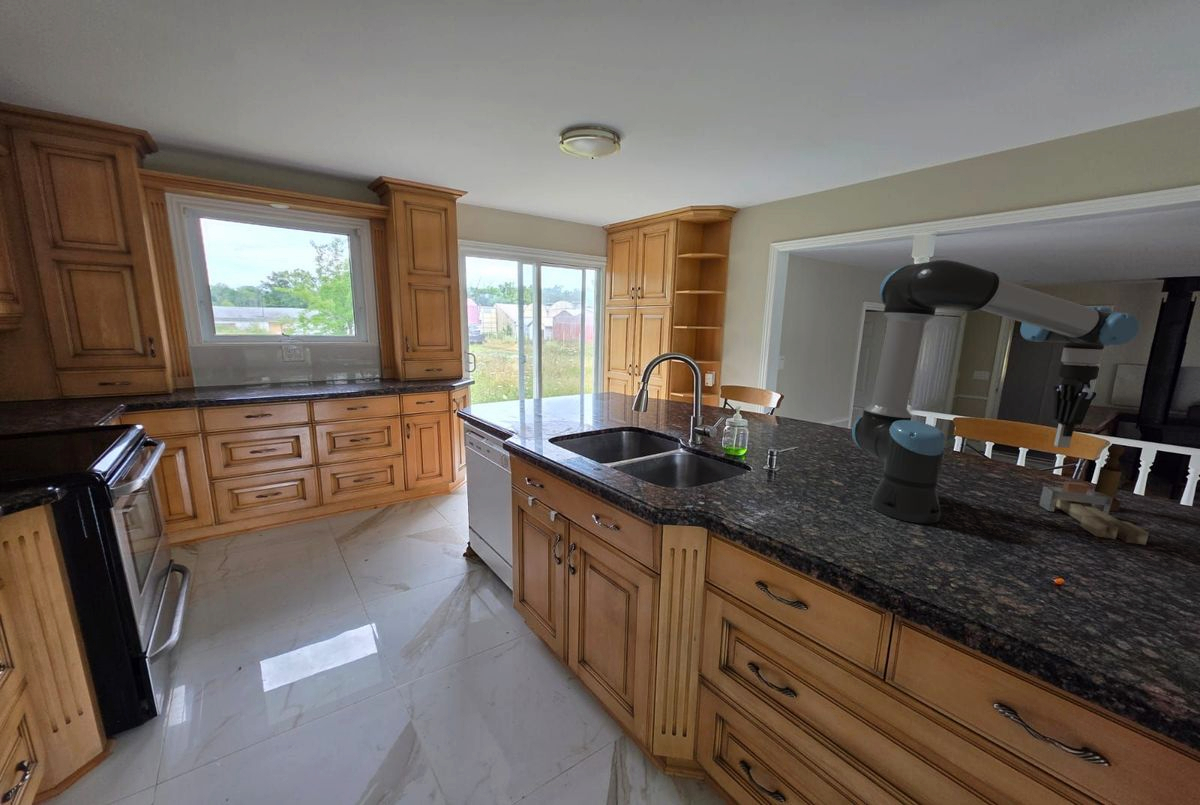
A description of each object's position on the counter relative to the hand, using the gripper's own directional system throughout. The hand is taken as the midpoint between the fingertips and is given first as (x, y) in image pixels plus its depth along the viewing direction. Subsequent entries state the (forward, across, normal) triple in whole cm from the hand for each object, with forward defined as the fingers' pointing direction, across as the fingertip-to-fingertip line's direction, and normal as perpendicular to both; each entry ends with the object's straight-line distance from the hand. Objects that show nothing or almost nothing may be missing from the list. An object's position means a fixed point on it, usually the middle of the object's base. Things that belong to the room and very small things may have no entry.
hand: (1061, 446), depth 127 cm
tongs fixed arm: (+16, -15, -1) cm, 22 cm away
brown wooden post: (+16, -1, -11) cm, 20 cm away
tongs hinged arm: (+16, -15, +1) cm, 22 cm away
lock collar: (+16, -10, 0) cm, 19 cm away
